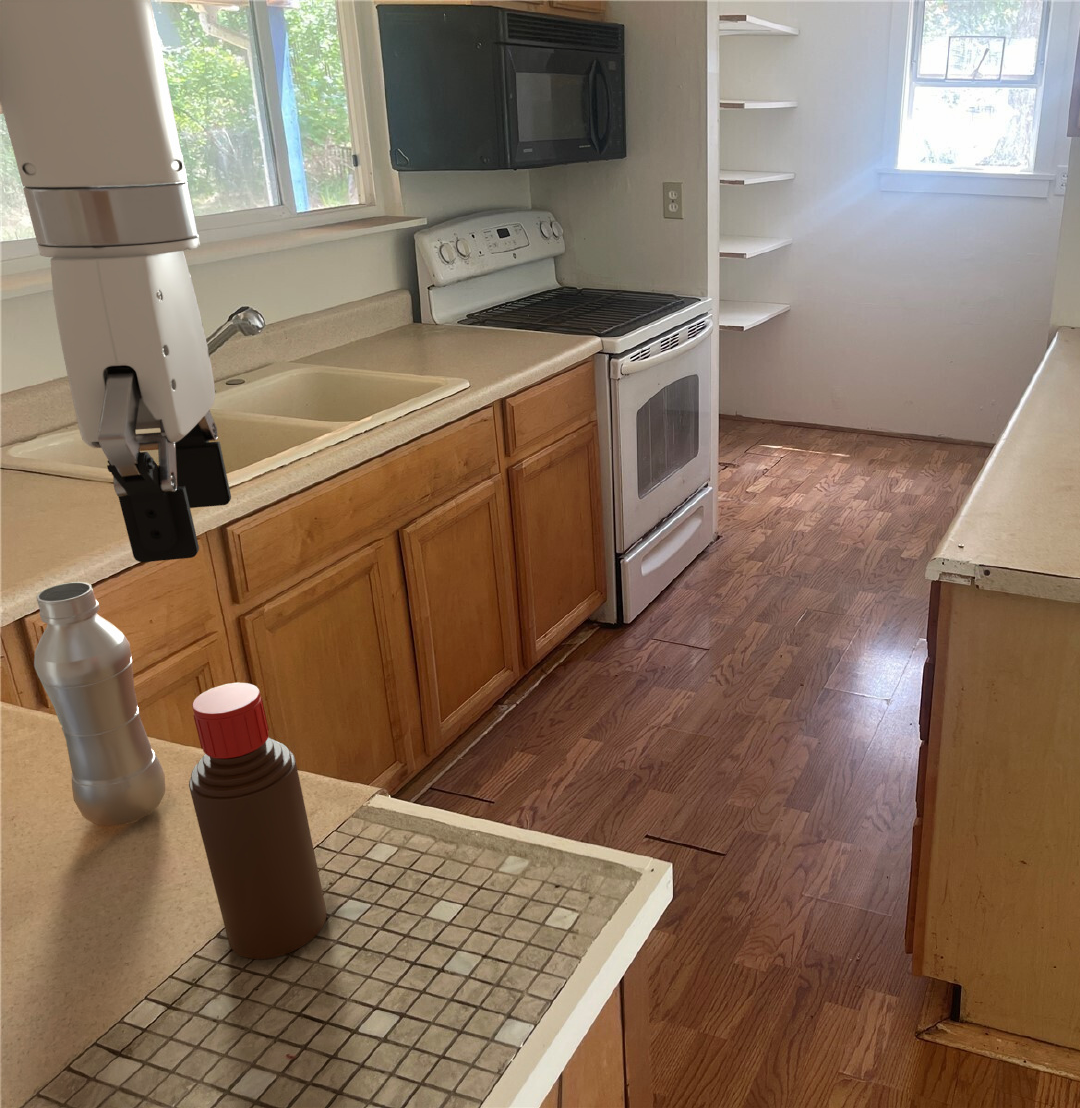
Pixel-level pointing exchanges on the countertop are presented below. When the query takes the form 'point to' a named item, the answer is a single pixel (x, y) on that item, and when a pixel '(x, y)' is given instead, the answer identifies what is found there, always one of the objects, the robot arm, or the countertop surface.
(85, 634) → the silver water bottle
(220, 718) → the cap
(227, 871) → the sauce bottle
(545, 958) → the countertop surface
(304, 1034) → the countertop surface
